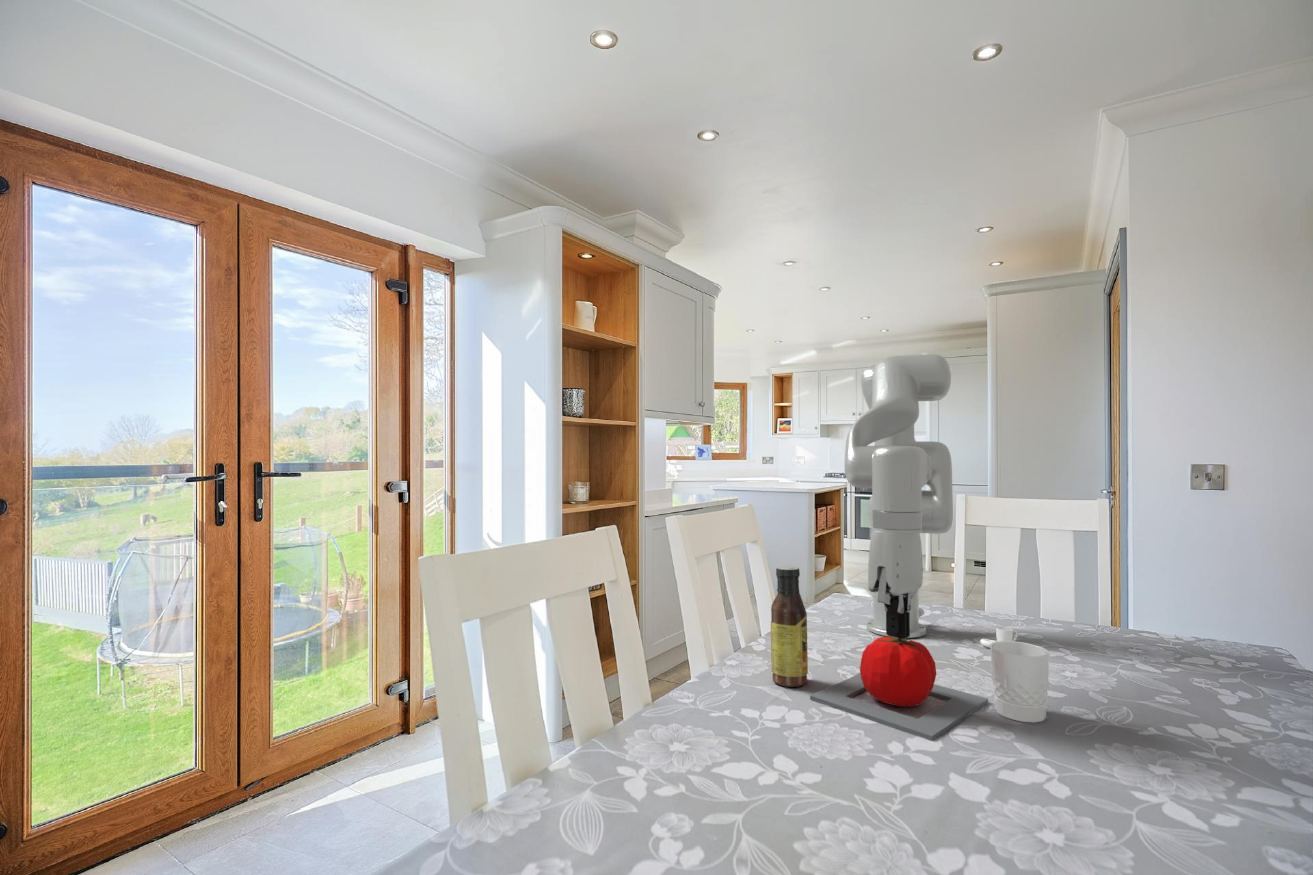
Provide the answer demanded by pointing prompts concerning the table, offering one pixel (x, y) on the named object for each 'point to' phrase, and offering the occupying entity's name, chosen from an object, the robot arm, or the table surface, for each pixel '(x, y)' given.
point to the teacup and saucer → (1000, 636)
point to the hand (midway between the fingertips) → (897, 636)
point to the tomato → (898, 671)
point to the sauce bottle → (789, 631)
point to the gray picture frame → (925, 726)
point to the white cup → (1020, 680)
